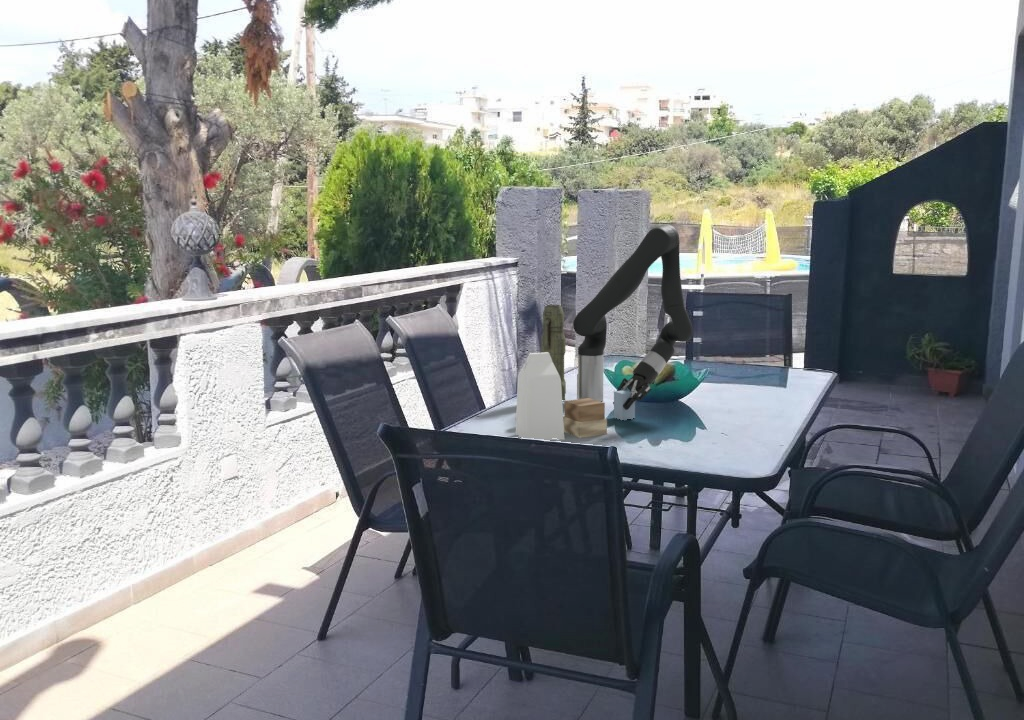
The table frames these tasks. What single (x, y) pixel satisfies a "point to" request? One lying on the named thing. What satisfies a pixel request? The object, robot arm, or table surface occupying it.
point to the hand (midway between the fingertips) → (619, 406)
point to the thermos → (554, 339)
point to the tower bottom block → (585, 427)
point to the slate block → (619, 400)
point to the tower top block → (584, 409)
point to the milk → (539, 399)
